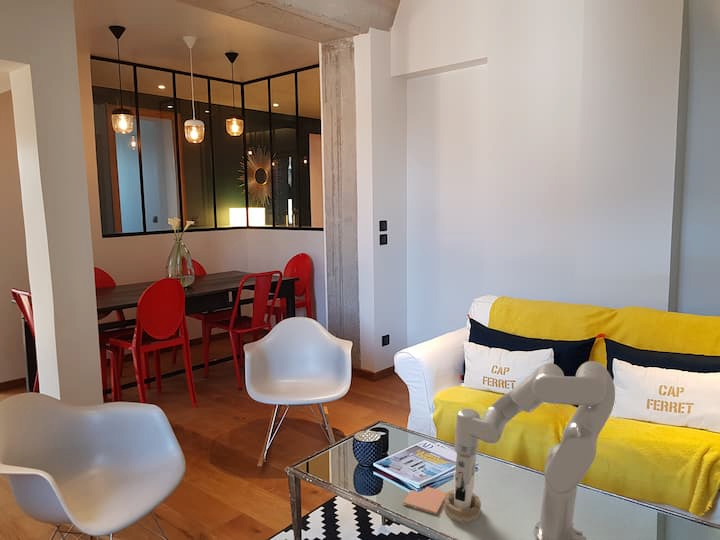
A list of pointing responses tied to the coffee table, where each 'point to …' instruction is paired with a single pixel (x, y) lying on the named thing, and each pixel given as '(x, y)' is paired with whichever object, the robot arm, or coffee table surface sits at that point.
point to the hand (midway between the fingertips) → (462, 493)
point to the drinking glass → (468, 494)
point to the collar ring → (460, 514)
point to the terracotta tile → (426, 499)
